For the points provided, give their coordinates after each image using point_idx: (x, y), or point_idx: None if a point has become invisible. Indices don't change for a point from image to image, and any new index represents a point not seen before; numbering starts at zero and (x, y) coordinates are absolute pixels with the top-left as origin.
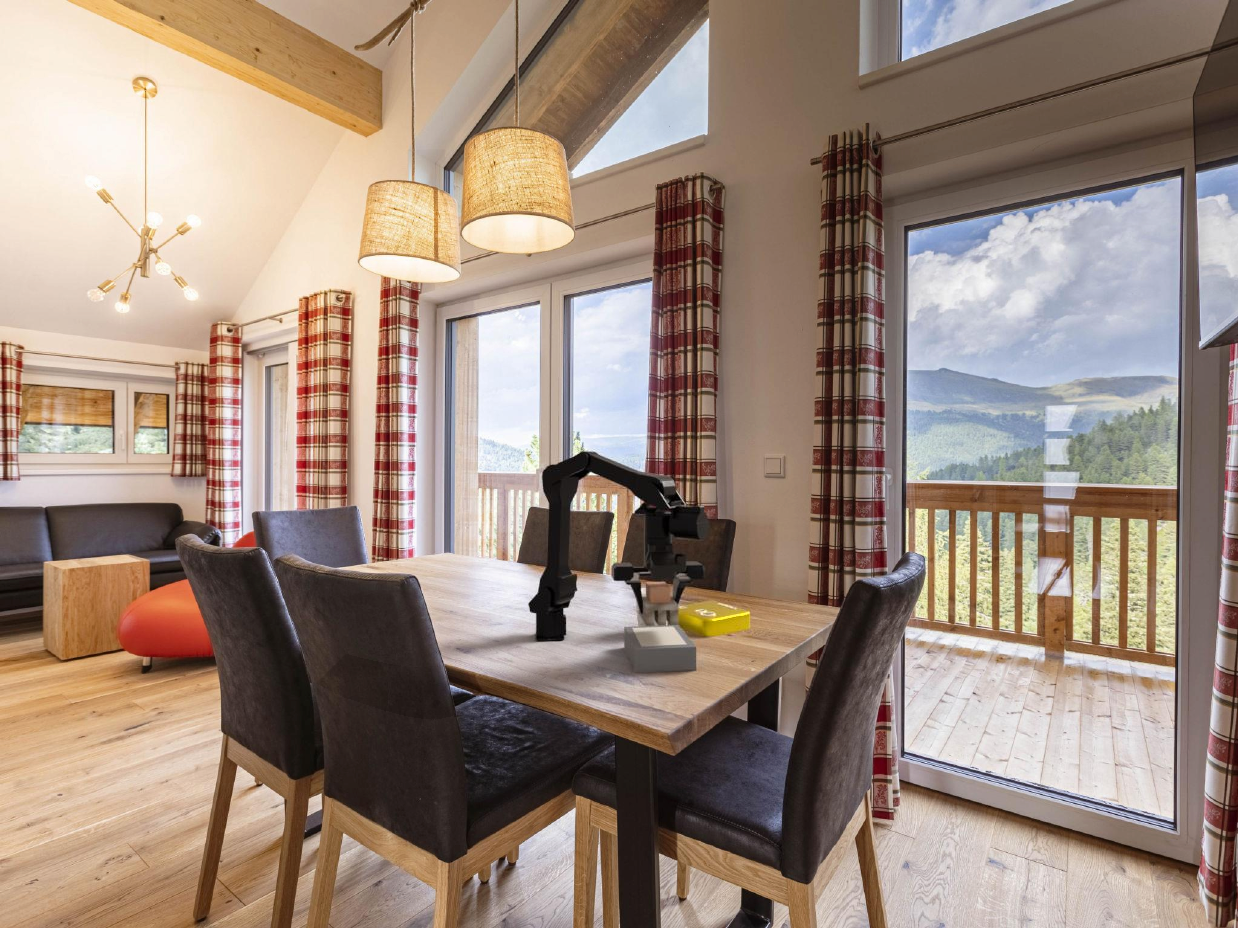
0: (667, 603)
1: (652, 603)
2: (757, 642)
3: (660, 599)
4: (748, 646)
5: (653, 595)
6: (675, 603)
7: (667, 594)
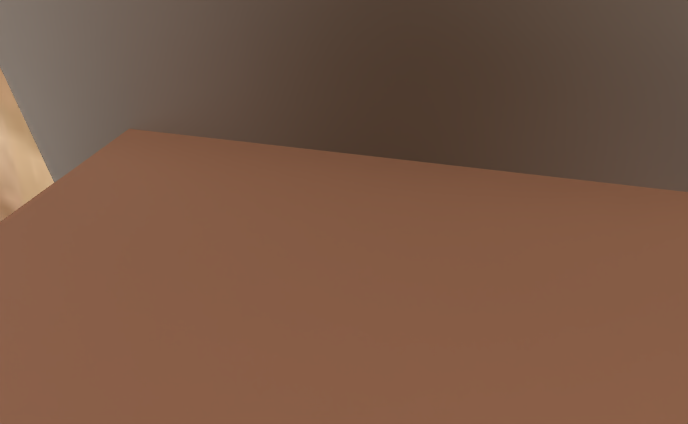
0: (179, 47)
1: (647, 132)
2: (7, 173)
3: (319, 208)
4: (29, 129)
5: (551, 375)
6: (13, 27)
7: (24, 274)
